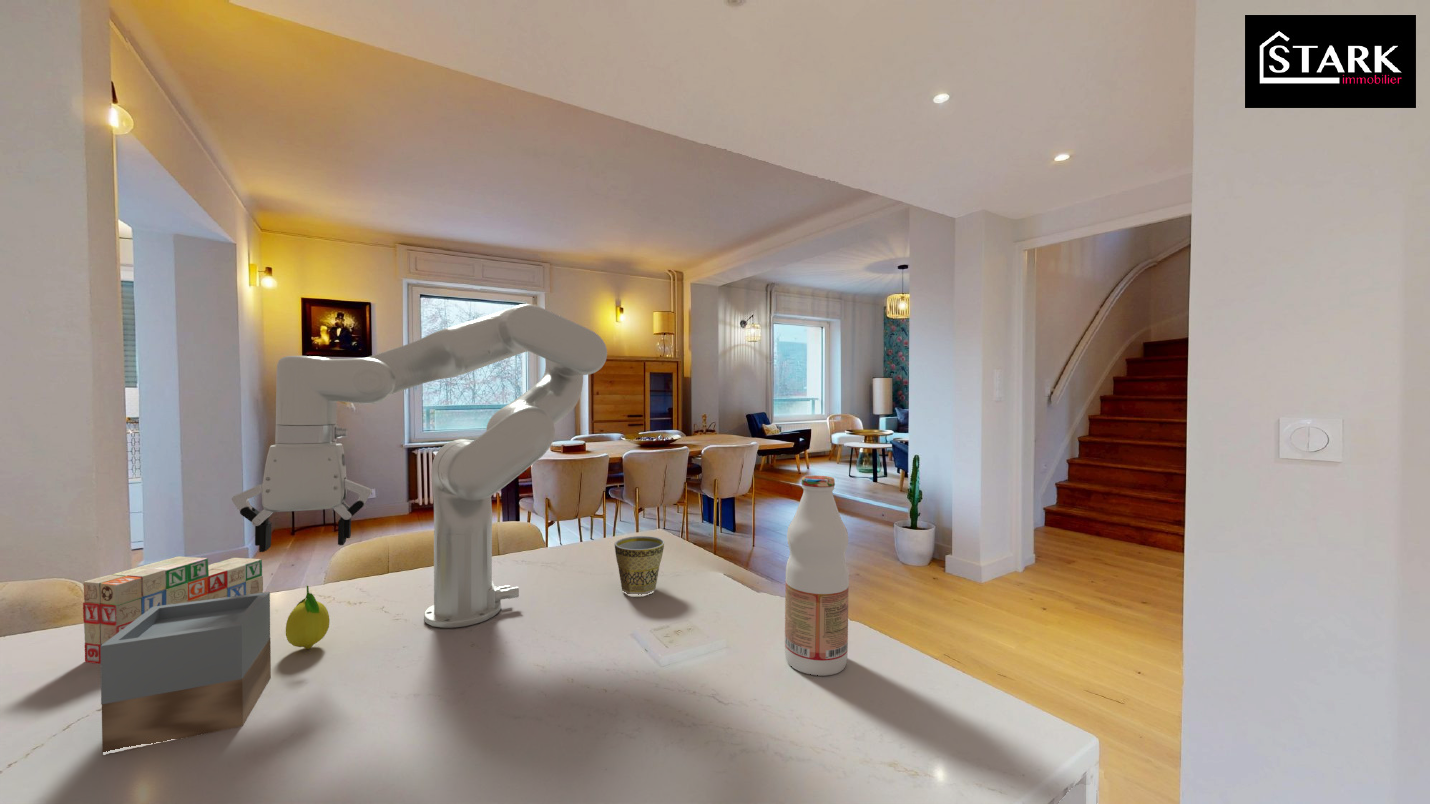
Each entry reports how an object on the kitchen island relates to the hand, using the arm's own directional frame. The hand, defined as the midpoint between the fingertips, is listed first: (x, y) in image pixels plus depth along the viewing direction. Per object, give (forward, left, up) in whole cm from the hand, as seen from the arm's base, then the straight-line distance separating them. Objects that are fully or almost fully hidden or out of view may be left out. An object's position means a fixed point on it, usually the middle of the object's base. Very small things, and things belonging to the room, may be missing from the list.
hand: (304, 546), depth 83 cm
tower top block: (+8, +14, -11) cm, 19 cm away
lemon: (0, 0, -16) cm, 16 cm away
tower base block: (+8, +14, -17) cm, 23 cm away
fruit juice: (-69, +38, -16) cm, 81 cm away
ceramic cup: (-55, -2, -16) cm, 58 cm away
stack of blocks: (+19, -16, -17) cm, 30 cm away
